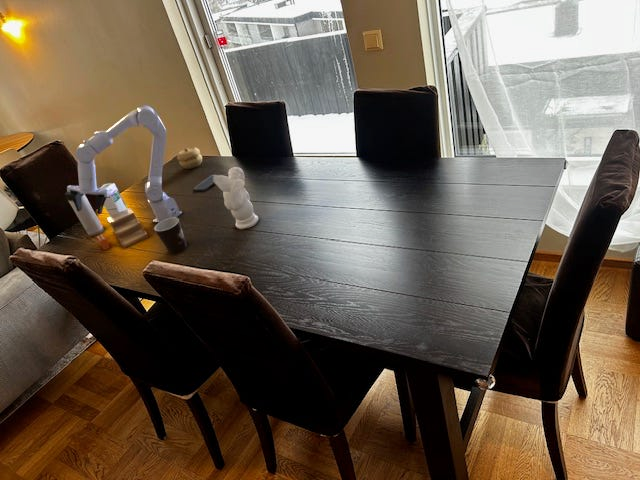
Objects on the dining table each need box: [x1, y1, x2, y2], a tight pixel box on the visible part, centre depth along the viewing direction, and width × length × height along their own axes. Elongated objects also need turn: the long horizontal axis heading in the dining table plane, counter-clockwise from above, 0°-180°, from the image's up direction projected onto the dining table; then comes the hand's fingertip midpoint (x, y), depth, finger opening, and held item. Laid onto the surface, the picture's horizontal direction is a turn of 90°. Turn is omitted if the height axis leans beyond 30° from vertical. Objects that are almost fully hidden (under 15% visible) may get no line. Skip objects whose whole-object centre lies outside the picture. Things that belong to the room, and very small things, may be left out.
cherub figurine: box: [213, 166, 259, 230], centre depth 155 cm, size 12×12×22 cm
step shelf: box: [106, 207, 149, 249], centre depth 175 cm, size 20×10×6 cm, turn 34°
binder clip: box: [96, 234, 111, 251], centre depth 171 cm, size 4×2×5 cm, turn 34°
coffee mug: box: [153, 217, 188, 255], centre depth 156 cm, size 12×9×10 cm
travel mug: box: [64, 191, 105, 237], centre depth 181 cm, size 6×7×20 cm
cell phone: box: [193, 174, 221, 191], centre depth 203 cm, size 7×14×1 cm, turn 150°
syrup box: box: [99, 182, 129, 217], centre depth 191 cm, size 6×6×14 cm
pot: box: [176, 147, 203, 170], centre depth 225 cm, size 12×12×10 cm
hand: (89, 211), depth 170 cm, fingers open, 7 cm apart
